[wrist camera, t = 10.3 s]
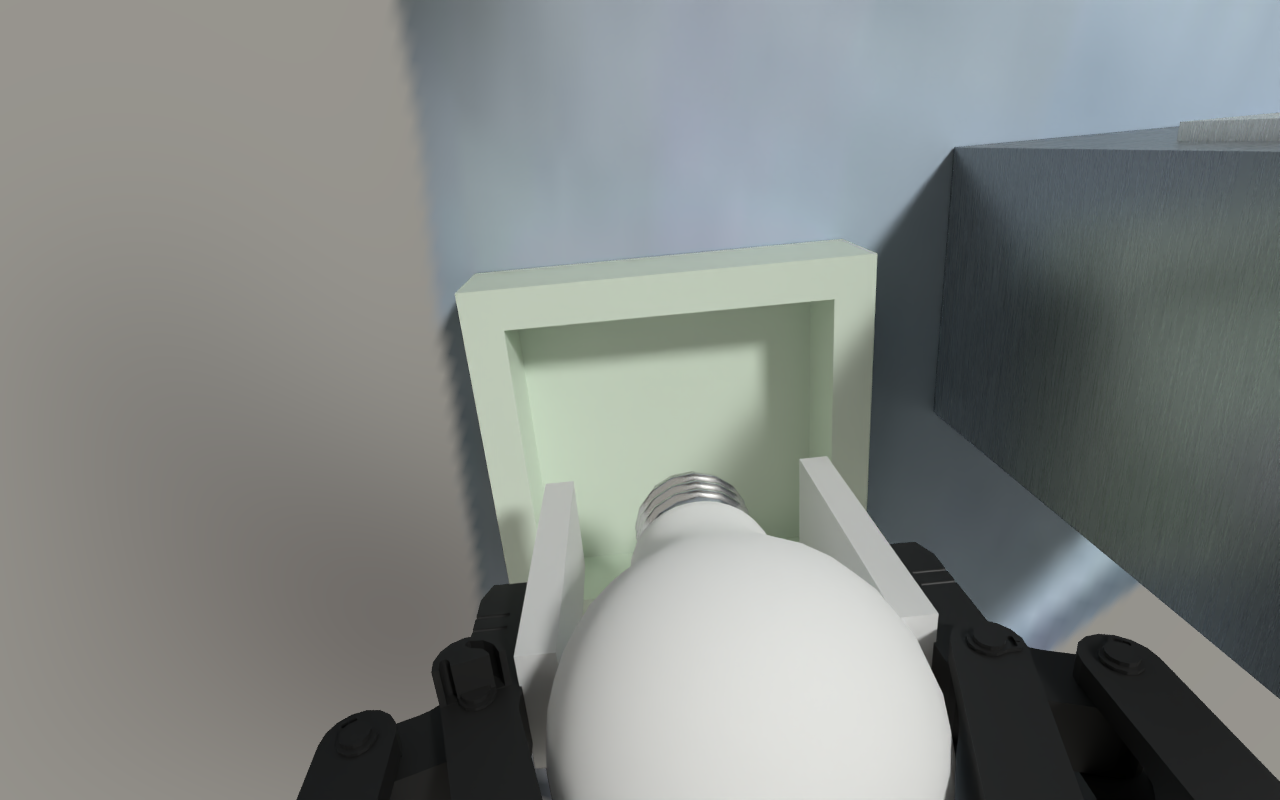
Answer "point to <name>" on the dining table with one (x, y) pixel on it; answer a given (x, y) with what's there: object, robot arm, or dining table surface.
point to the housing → (1132, 353)
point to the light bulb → (741, 672)
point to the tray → (669, 384)
